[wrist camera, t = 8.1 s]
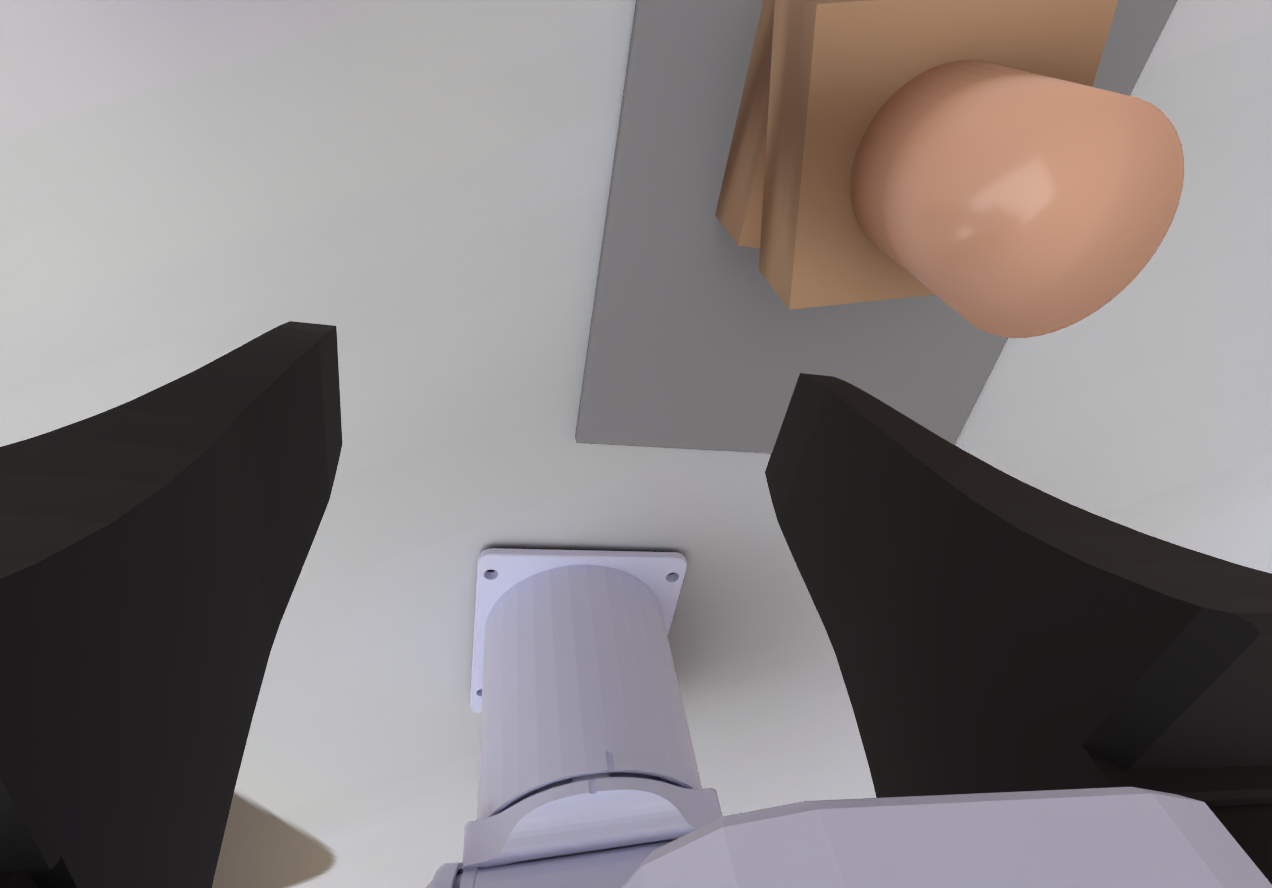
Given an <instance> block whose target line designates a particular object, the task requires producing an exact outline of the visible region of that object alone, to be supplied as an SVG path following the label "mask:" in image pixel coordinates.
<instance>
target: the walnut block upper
mask: <svg viewBox="0 0 1272 888" xmlns="http://www.w3.org/2000/svg"><path fill="white" fill-rule="evenodd" d="M1117 3H1118V0H775V7H774V24H773V40H772V57H771V74H770V90H769V107H768V123H767V140H766V157H765V173H764V190H763V206H762V223H761V240H760V256H759V271H760V272H761V273H762V275H763V276H764V277H765V279H766V280H767V281H768V282H769V284H770V285H771V286H772V288H773V289H774V290H775V292H776V293H777V294H778V295H779V297H780V298H781V299H782V301H783V302H784V303H785V305H786V306H787V307H788V308H789V310H791V309H801V308H811V307H820V306H830V305H839V304H849V303H859V302H868V301H878V300H888V299H897V298H907V297H917V296H926V295H935V294H934V293H933V292H931V291H930V290H929V289H928V288H926V287H925V286H924V285H923V284H922V283H920V282H919V281H918V280H917V279H915V278H914V277H913V276H912V275H911V274H909V273H908V272H907V271H906V270H904V269H903V268H902V267H901V266H900V265H898V264H897V263H896V262H895V261H893V260H892V259H891V258H890V257H888V256H887V255H886V254H885V253H884V252H882V251H881V250H880V249H879V248H877V247H876V246H875V245H874V244H873V243H872V242H871V241H870V240H869V239H868V238H867V237H866V236H865V234H864V233H863V232H862V230H861V228H860V226H859V224H858V222H857V221H856V218H855V215H854V212H853V207H852V202H851V188H850V185H851V173H852V168H853V164H854V159H855V156H856V153H857V150H858V147H859V144H860V142H861V140H862V138H863V136H864V133H865V132H866V130H867V128H868V126H869V125H870V123H871V121H872V120H873V118H874V117H875V115H876V114H877V113H878V111H879V110H880V109H881V107H882V106H883V105H884V104H885V103H886V102H887V101H888V99H889V98H890V97H891V96H892V95H893V94H894V93H896V92H897V91H898V90H899V89H900V88H901V87H902V86H903V85H905V84H906V83H908V82H909V81H910V80H912V79H913V78H914V77H916V76H918V75H920V74H921V73H923V72H925V71H927V70H929V69H931V68H934V67H936V66H939V65H942V64H945V63H949V62H952V61H960V60H980V61H985V62H990V63H994V64H998V65H1003V66H1007V67H1011V68H1015V69H1019V70H1024V71H1028V72H1032V73H1036V74H1040V75H1044V76H1049V77H1053V78H1057V79H1061V80H1065V81H1070V82H1074V83H1078V84H1082V85H1086V86H1090V87H1093V83H1094V80H1095V77H1096V73H1097V70H1098V67H1099V63H1100V60H1101V57H1102V53H1103V50H1104V47H1105V43H1106V40H1107V37H1108V33H1109V30H1110V27H1111V23H1112V20H1113V17H1114V13H1115V10H1116V7H1117Z"/></svg>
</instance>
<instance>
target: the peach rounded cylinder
mask: <svg viewBox="0 0 1272 888" xmlns="http://www.w3.org/2000/svg"><path fill="white" fill-rule="evenodd" d="M1183 178H1184V157H1183V151H1182V146H1181V142H1180V139H1179V137H1178V134H1177V131H1176V130H1175V128H1174V126H1173V125H1172V123H1171V121H1170V120H1169V119H1168V118H1167V117H1166V116H1165V115H1164V114H1163V112H1162V111H1161V110H1159V109H1158V108H1156V107H1155V106H1153V105H1152V104H1150V103H1149V102H1146V101H1144V100H1141V99H1139V98H1136V97H1132V96H1128V95H1124V94H1120V93H1116V92H1111V91H1107V90H1103V89H1099V88H1095V87H1090V86H1086V85H1082V84H1078V83H1074V82H1070V81H1065V80H1061V79H1057V78H1053V77H1049V76H1044V75H1040V74H1036V73H1032V72H1028V71H1024V70H1019V69H1015V68H1011V67H1007V66H1003V65H998V64H994V63H990V62H985V61H980V60H960V61H952V62H949V63H945V64H942V65H939V66H936V67H934V68H931V69H929V70H927V71H925V72H923V73H921V74H920V75H918V76H916V77H914V78H913V79H912V80H910V81H909V82H908V83H906V84H905V85H903V86H902V87H901V88H900V89H899V90H898V91H897V92H896V93H894V94H893V95H892V96H891V97H890V98H889V99H888V101H887V102H886V103H885V104H884V105H883V106H882V107H881V109H880V110H879V111H878V113H877V114H876V115H875V117H874V118H873V120H872V121H871V123H870V125H869V126H868V128H867V130H866V132H865V133H864V136H863V138H862V140H861V142H860V144H859V147H858V150H857V153H856V156H855V159H854V164H853V168H852V173H851V185H850V188H851V202H852V207H853V212H854V215H855V218H856V221H857V222H858V224H859V226H860V228H861V230H862V232H863V233H864V234H865V236H866V237H867V238H868V239H869V240H870V241H871V242H872V243H873V244H874V245H875V246H876V247H877V248H879V249H880V250H881V251H882V252H884V253H885V254H886V255H887V256H888V257H890V258H891V259H892V260H893V261H895V262H896V263H897V264H898V265H900V266H901V267H902V268H903V269H904V270H906V271H907V272H908V273H909V274H911V275H912V276H913V277H914V278H915V279H917V280H918V281H919V282H920V283H922V284H923V285H924V286H925V287H926V288H928V289H929V290H930V291H931V292H933V293H934V294H935V295H936V296H937V297H939V298H940V299H941V300H942V301H944V302H945V303H946V304H947V305H948V306H950V307H951V308H952V309H953V310H955V311H956V312H957V313H958V314H960V315H961V316H962V317H963V318H964V319H966V320H967V321H968V322H969V323H971V324H972V325H974V326H975V327H977V328H978V329H980V330H982V331H985V332H987V333H989V334H993V335H997V336H1001V337H1010V338H1026V337H1033V336H1040V335H1044V334H1047V333H1051V332H1055V331H1057V330H1060V329H1062V328H1065V327H1068V326H1070V325H1072V324H1074V323H1076V322H1078V321H1080V320H1082V319H1084V318H1086V317H1087V316H1089V315H1090V314H1092V313H1094V312H1095V311H1097V310H1098V309H1100V308H1101V307H1102V306H1104V305H1105V304H1107V303H1108V302H1109V301H1111V300H1112V299H1113V298H1114V297H1115V296H1116V295H1118V294H1119V293H1120V292H1121V291H1122V290H1123V289H1124V288H1125V287H1126V286H1127V285H1128V284H1129V283H1130V282H1131V281H1132V280H1133V279H1134V278H1135V277H1136V276H1137V275H1138V274H1139V273H1140V271H1141V270H1142V269H1143V268H1144V267H1145V265H1146V264H1147V263H1148V262H1149V260H1150V259H1151V257H1152V256H1153V254H1154V253H1155V252H1156V250H1157V249H1158V247H1159V245H1160V244H1161V242H1162V240H1163V239H1164V237H1165V235H1166V233H1167V231H1168V229H1169V227H1170V225H1171V222H1172V220H1173V218H1174V215H1175V212H1176V210H1177V207H1178V204H1179V200H1180V196H1181V191H1182V186H1183Z"/></svg>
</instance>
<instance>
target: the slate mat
mask: <svg viewBox="0 0 1272 888" xmlns="http://www.w3.org/2000/svg"><path fill="white" fill-rule="evenodd" d="M1176 2H1177V0H1118V3H1117V7H1116V10H1115V13H1114V17H1113V20H1112V23H1111V27H1110V30H1109V33H1108V37H1107V40H1106V43H1105V47H1104V50H1103V53H1102V57H1101V60H1100V63H1099V67H1098V70H1097V73H1096V77H1095V80H1094V83H1093V87H1095V88H1099V89H1103V90H1107V91H1111V92H1116V93H1120V94H1124V95H1128V96H1130V94H1131V92H1132V90H1133V88H1134V86H1135V84H1136V82H1137V80H1138V78H1139V76H1140V74H1141V72H1142V70H1143V68H1144V66H1145V64H1146V62H1147V60H1148V58H1149V56H1150V54H1151V52H1152V50H1153V48H1154V46H1155V44H1156V42H1157V40H1158V38H1159V36H1160V34H1161V32H1162V30H1163V28H1164V26H1165V24H1166V22H1167V20H1168V18H1169V16H1170V14H1171V12H1172V10H1173V8H1174V6H1175V4H1176ZM762 4H763V0H636V6H635V14H634V21H633V28H632V35H631V42H630V49H629V56H628V64H627V71H626V78H625V85H624V92H623V99H622V106H621V113H620V121H619V128H618V135H617V142H616V149H615V156H614V163H613V170H612V178H611V185H610V192H609V199H608V206H607V213H606V220H605V228H604V235H603V242H602V249H601V256H600V263H599V270H598V277H597V285H596V292H595V299H594V306H593V313H592V320H591V327H590V334H589V342H588V349H587V356H586V363H585V370H584V377H583V384H582V392H581V399H580V406H579V413H578V420H577V427H576V434H575V438H576V443H590V444H608V445H627V446H645V447H664V448H682V449H700V450H719V451H737V452H756V453H772V451H773V448H774V445H775V443H776V440H777V437H778V434H779V431H780V428H781V426H782V423H783V420H784V417H785V414H786V411H787V409H788V406H789V403H790V400H791V397H792V394H793V392H794V389H795V386H796V383H797V380H798V377H799V375H800V373H804V374H814V375H824V376H834V377H836V378H839V379H841V380H844V381H846V382H848V383H850V384H852V385H854V386H856V387H858V388H860V389H861V390H863V391H865V392H867V393H868V394H870V395H872V396H874V397H875V398H877V399H879V400H880V401H882V402H884V403H885V404H887V405H889V406H890V407H892V408H894V409H895V410H897V411H899V412H900V413H902V414H904V415H905V416H907V417H908V418H910V419H912V420H913V421H915V422H917V423H918V424H920V425H922V426H923V427H925V428H926V429H928V430H930V431H931V432H933V433H935V434H936V435H938V436H940V437H941V438H943V439H945V440H947V441H948V442H950V443H952V444H953V445H955V443H956V441H957V439H958V437H959V435H960V433H961V431H962V429H963V427H964V425H965V423H966V421H967V419H968V417H969V415H970V413H971V411H972V409H973V407H974V405H975V403H976V401H977V399H978V397H979V395H980V393H981V391H982V389H983V387H984V385H985V383H986V381H987V379H988V377H989V375H990V373H991V371H992V369H993V367H994V365H995V363H996V361H997V359H998V357H999V355H1000V353H1001V351H1002V349H1003V347H1004V345H1005V343H1006V341H1007V339H1008V337H1001V336H997V335H993V334H989V333H987V332H985V331H982V330H980V329H978V328H977V327H975V326H974V325H972V324H971V323H969V322H968V321H967V320H966V319H964V318H963V317H962V316H961V315H960V314H958V313H957V312H956V311H955V310H953V309H952V308H951V307H950V306H948V305H947V304H946V303H945V302H944V301H942V300H941V299H940V298H939V297H937V296H936V295H926V296H917V297H907V298H897V299H888V300H878V301H868V302H859V303H849V304H839V305H830V306H820V307H811V308H801V309H791V310H789V308H788V307H787V306H786V305H785V303H784V302H783V301H782V299H781V298H780V297H779V295H778V294H777V293H776V292H775V290H774V289H773V288H772V286H771V285H770V284H769V282H768V281H767V280H766V279H765V277H764V276H763V275H762V273H761V272H760V271H759V256H760V248H754V247H746V246H738V245H737V243H736V242H735V241H734V239H733V238H732V237H731V236H730V234H729V233H728V232H727V230H726V229H725V228H724V226H723V225H722V224H721V222H720V221H719V220H718V218H717V217H716V216H715V213H716V209H717V204H718V200H719V196H720V191H721V187H722V182H723V178H724V173H725V169H726V164H727V160H728V156H729V151H730V147H731V142H732V138H733V133H734V129H735V124H736V120H737V116H738V111H739V107H740V102H741V98H742V93H743V89H744V84H745V80H746V76H747V71H748V67H749V62H750V58H751V53H752V49H753V44H754V40H755V36H756V31H757V27H758V22H759V18H760V13H761V9H762Z"/></svg>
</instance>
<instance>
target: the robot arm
mask: <svg viewBox="0 0 1272 888" xmlns="http://www.w3.org/2000/svg"><path fill="white" fill-rule="evenodd" d="M341 447H342V430H341V410H340V391H339V372H338V352H337V333H336V326H330V325H320V324H311V323H301V322H291V321H290V322H288V323H285V324H283V325H280V326H278V327H276V328H274V329H272V330H270V331H268V332H266V333H265V334H263V335H261V336H259V337H257V338H255V339H253V340H252V341H250V342H248V343H246V344H244V345H242V346H241V347H239V348H237V349H235V350H233V351H231V352H229V353H228V354H226V355H224V356H222V357H220V358H218V359H216V360H214V361H213V362H211V363H209V364H207V365H205V366H203V367H201V368H199V369H197V370H196V371H194V372H191V373H189V374H187V375H185V376H183V377H181V378H179V379H177V380H174V381H172V382H170V383H168V384H166V385H164V386H162V387H160V388H157V389H155V390H153V391H151V392H149V393H147V394H145V395H143V396H140V397H138V398H136V399H134V400H132V401H130V402H127V403H125V404H123V405H120V406H118V407H115V408H113V409H110V410H108V411H105V412H103V413H100V414H98V415H95V416H93V417H90V418H87V419H85V420H82V421H79V422H76V423H73V424H71V425H68V426H65V427H62V428H60V429H57V430H54V431H51V432H48V433H45V434H42V435H39V436H36V437H33V438H30V439H27V440H24V441H20V442H17V443H13V444H10V445H6V446H3V447H0V888H212V883H213V878H214V874H215V870H216V866H217V861H218V857H219V853H220V849H221V844H222V840H223V836H224V831H225V827H226V822H227V819H228V814H229V810H230V806H231V801H232V797H233V793H234V789H235V785H236V781H237V777H238V773H239V769H240V765H241V761H242V757H243V753H244V749H245V745H246V741H247V737H248V733H249V729H250V725H251V721H252V717H253V714H254V710H255V706H256V703H257V699H258V695H259V692H260V688H261V684H262V680H263V677H264V673H265V669H266V666H267V662H268V658H269V655H270V651H271V648H272V645H273V642H274V639H275V636H276V634H277V631H278V628H279V625H280V622H281V619H282V617H283V614H284V612H285V609H286V607H287V605H288V602H289V600H290V597H291V595H292V592H293V590H294V587H295V585H296V582H297V580H298V577H299V575H300V572H301V570H302V567H303V565H304V562H305V560H306V557H307V555H308V552H309V550H310V547H311V545H312V542H313V540H314V537H315V535H316V532H317V530H318V527H319V525H320V522H321V520H322V517H323V515H324V512H325V509H326V507H327V504H328V502H329V499H330V495H331V491H332V487H333V483H334V479H335V474H336V470H337V465H338V461H339V456H340V452H341ZM765 474H766V478H767V483H768V487H769V491H770V495H771V499H772V503H773V506H774V509H775V513H776V516H777V520H778V523H779V525H780V527H781V530H782V532H783V535H784V537H785V539H786V542H787V544H788V546H789V548H790V551H791V553H792V555H793V558H794V560H795V562H796V564H797V567H798V569H799V571H800V573H801V575H802V578H803V580H804V582H805V584H806V586H807V589H808V591H809V593H810V595H811V598H812V600H813V602H814V604H815V606H816V609H817V611H818V613H819V615H820V618H821V620H822V622H823V624H824V626H825V629H826V631H827V634H828V636H829V639H830V641H831V644H832V646H833V649H834V651H835V654H836V657H837V660H838V663H839V666H840V669H841V673H842V676H843V679H844V682H845V685H846V688H847V691H848V695H849V698H850V701H851V704H852V707H853V711H854V714H855V718H856V721H857V725H858V728H859V732H860V736H861V739H862V743H863V746H864V750H865V753H866V757H867V760H868V764H869V768H870V772H871V776H872V780H873V784H874V788H875V792H876V797H877V798H866V799H844V800H821V801H804V802H799V803H794V804H788V805H783V806H777V807H772V808H767V809H761V810H756V811H751V812H745V813H740V814H735V815H729V816H724V817H723V816H722V812H721V808H720V804H719V800H718V796H717V792H716V790H715V789H713V788H709V789H702V786H701V782H700V777H699V773H698V768H697V764H696V759H695V755H694V751H693V746H692V742H691V737H690V733H689V729H688V724H687V720H686V715H685V711H684V707H683V702H682V698H681V693H680V689H679V685H678V680H677V676H676V671H675V667H674V662H673V658H672V654H671V649H670V645H669V640H668V634H669V630H670V627H671V623H672V620H673V616H674V613H675V609H676V605H677V602H678V598H679V595H680V591H681V588H682V584H683V580H684V577H685V573H686V570H687V561H686V558H685V556H684V555H683V554H681V553H677V552H637V551H591V550H546V549H501V548H491V549H486V550H484V551H482V552H481V553H480V554H479V557H478V568H477V586H476V604H475V622H474V640H473V658H472V677H471V695H470V709H471V710H472V711H473V712H476V713H481V732H480V758H479V783H478V809H477V820H476V821H471V822H468V823H467V824H465V835H464V854H463V863H446V864H444V865H442V866H441V867H439V869H438V870H437V871H436V873H435V875H434V877H433V880H432V881H431V882H430V883H429V885H428V886H427V887H426V888H1272V574H1270V573H1267V572H1263V571H1259V570H1255V569H1251V568H1248V567H1244V566H1241V565H1238V564H1234V563H1231V562H1228V561H1225V560H1222V559H1218V558H1215V557H1212V556H1209V555H1206V554H1203V553H1200V552H1196V551H1193V550H1190V549H1187V548H1184V547H1181V546H1178V545H1175V544H1172V543H1169V542H1166V541H1164V540H1161V539H1158V538H1155V537H1152V536H1149V535H1146V534H1144V533H1141V532H1138V531H1136V530H1133V529H1131V528H1128V527H1125V526H1123V525H1120V524H1118V523H1115V522H1113V521H1110V520H1108V519H1105V518H1102V517H1100V516H1097V515H1095V514H1092V513H1090V512H1087V511H1085V510H1083V509H1080V508H1078V507H1076V506H1073V505H1071V504H1069V503H1066V502H1064V501H1062V500H1060V499H1058V498H1056V497H1053V496H1051V495H1049V494H1047V493H1045V492H1043V491H1041V490H1039V489H1036V488H1034V487H1032V486H1030V485H1028V484H1026V483H1024V482H1022V481H1020V480H1018V479H1016V478H1014V477H1012V476H1010V475H1008V474H1006V473H1004V472H1002V471H1000V470H998V469H996V468H994V467H993V466H991V465H989V464H987V463H985V462H984V461H982V460H980V459H978V458H976V457H975V456H973V455H971V454H969V453H967V452H965V451H964V450H962V449H960V448H959V447H957V446H955V445H953V444H952V443H950V442H948V441H947V440H945V439H943V438H941V437H940V436H938V435H936V434H935V433H933V432H931V431H930V430H928V429H926V428H925V427H923V426H922V425H920V424H918V423H917V422H915V421H913V420H912V419H910V418H908V417H907V416H905V415H904V414H902V413H900V412H899V411H897V410H895V409H894V408H892V407H890V406H889V405H887V404H885V403H884V402H882V401H880V400H879V399H877V398H875V397H874V396H872V395H870V394H868V393H867V392H865V391H863V390H861V389H860V388H858V387H856V386H854V385H852V384H850V383H848V382H846V381H844V380H841V379H839V378H836V377H834V376H824V375H814V374H804V373H800V375H799V377H798V380H797V383H796V386H795V389H794V392H793V394H792V397H791V400H790V403H789V406H788V409H787V411H786V414H785V417H784V420H783V423H782V426H781V428H780V431H779V434H778V437H777V440H776V443H775V445H774V448H773V451H772V454H771V457H770V460H769V462H768V465H767V468H766V471H765ZM491 569H492V570H495V572H487V570H491ZM673 572H675V573H674V574H672V575H668V574H669V573H673Z"/></svg>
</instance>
